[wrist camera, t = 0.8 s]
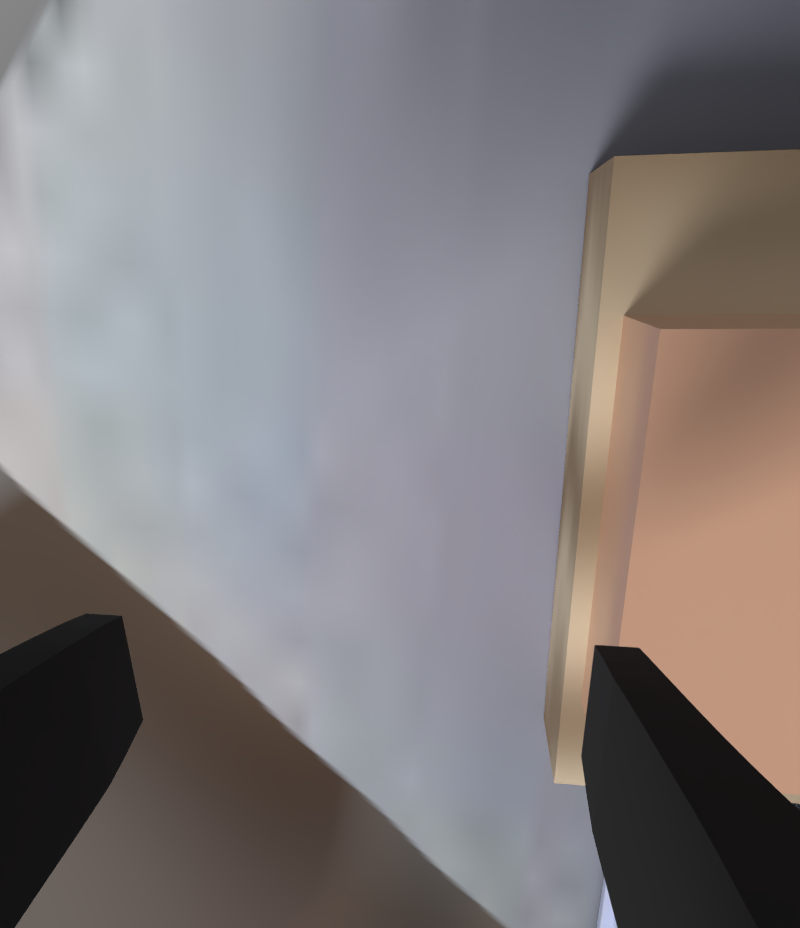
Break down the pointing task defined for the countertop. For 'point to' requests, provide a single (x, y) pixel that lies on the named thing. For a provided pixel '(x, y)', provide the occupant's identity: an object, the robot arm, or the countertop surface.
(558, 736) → the board
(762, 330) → the tile
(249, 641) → the countertop surface
